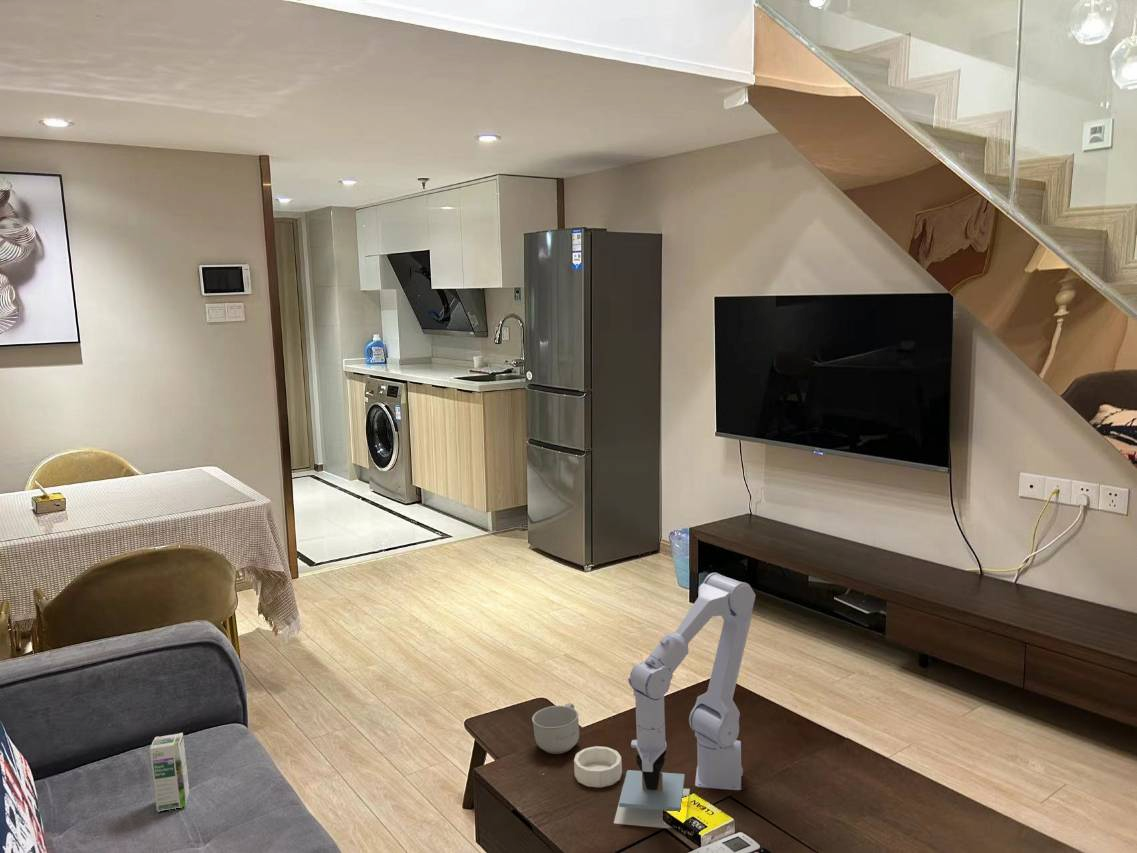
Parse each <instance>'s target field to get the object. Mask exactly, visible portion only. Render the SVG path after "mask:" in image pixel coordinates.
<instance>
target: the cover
mask: <svg viewBox="0 0 1137 853" xmlns="http://www.w3.org/2000/svg"><path fill="white" fill-rule="evenodd" d="M685 776H686V774H684V773H673V772H672V773H671V772H661V771H660V775H659V783H658V788H657V790H649V789H647V788H646V785H645V781H644V777H643V774H642V771H641V770H633V769H632V770H630V769H627V771H626V774H625V778H624V782H623V784H624V785H622V788H623V789H621V792H622V793H620V796H621V797H619V800H620V801H619V800H618V804H619V807H628V808H640V809H653V810H665V811H678V812H680V810H681V802H682V795H683V788H684V784H685Z"/></svg>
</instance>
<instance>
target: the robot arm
mask: <svg viewBox="0 0 1137 853" xmlns="http://www.w3.org/2000/svg"><path fill="white" fill-rule="evenodd" d="M697 593H698V597H697V598H696V600H695V601H694V603H693V605H691V607H690V609H689V611H688V612H687V614H686V615H685V617H684V619H683V620H682V621H681V622H680V624H679V625H678V628H677V629H676V630H675V631H674V632H673V633H672V632H671V633H666V634H665V635H664V636H663V637H662V638H661V639H660V640H659V643H658V644H657V645H656V646H655V648H654V649H653V651H652V652H651V653H650V654H649V656H648V657H647V658H646V659H645V660H644V661H642V662H640V663H637V664H636V665H634V667H633V668H632V669H631V671H630V676H629V677H628V678H627V682H628V685H629V686H630V688H632V690H633V691H632V692H633V696H634V699H635V721H636V722H635V724H636V739H632V740H631V743H630V747H631V748H633V749H636V750H637V753H638V754H636V760H635V762H636V765H637V766H638V768H639V769H640V771H642V774H643V777H644V781H645V785H646V788H647V789H649V790H657V788H658V783H659V775H660V772H661V770H662V768H663V766H664V764H665V761H666V758H665V756H666V754H667V750H668V748H667V741H666V718H665V716H666V715H665V695H666V694H667V693H668V692H669V690H670V686H671V680H672V679H673V677H674V672H675V671H677V668H678V667H680V665H681V664H682V662H683V661H684V659H685V658H686V657H687V656H688V654H689V643H690V642H691V641H692V640H693V639H694V638H695V637H696V635H697V634H698V633H699V632H700V631H701V630H702V629H703V628H704V627H705V625H706V624H708V622H709V621H710V620H711V619H712V618H713V617H721V618H722V620H723V624H722V628H721V631H720V635H719V636H720V637H719V640H718V645H717V649H716V653H715V657H714V661H713V666H712V670H711V674H710V679H709V683H708V687H707V690H706V692H704V693H703V694H701V695H698V696H697V697H696V701H695V705H694V706H693V708H692V710H691V711H690V714H689V717H688V724H689V726H690V728H691V730H692V731H694V737H695V738H696V746H697V748H696V749H697V750H696V751H697V766H696V772H695V773H696V774H695V781H694V782H695V783H694V787H696V788H705V789H706V788H707V789H719V790H732V791H740V790H742V777H743V775H744V771H743V770H744V768H743V766H742V741H741V740H737V739H738V736H739V733H740V723H739V722H740V716H741V713H740V710H739V709H738V706H737V705H736V703H735V701H734V700H733V699H734V694H735V691H736V690H735V689H736V687H737V686H736V684H737V682H738V677H739V674H740V668H741V665H742V660H743V656H744V653H745V652H744V651H745V647H746V643H747V640H748V636H749V630H750V626H751V621H752V616H753V615H752V614H753V613H752V612H753V608H754V604H755V600H756V593H755V592H754V590H753V588H752V587H751V584H749V583H747V582H743V581H739V580H736V579H734V578H730V577H727V576H725V575H722V574H720V573H718V572H711V573H709V574H708V575H707V576H706V577H705V578H704V580H703V582H702V583H701V584H700V585H699V586H698V592H697Z"/></svg>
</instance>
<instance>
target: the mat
mask: <svg viewBox="0 0 1137 853" xmlns="http://www.w3.org/2000/svg"><path fill="white" fill-rule="evenodd" d="M623 785H624V783H623ZM623 785H622V786H623ZM622 789H623V787H622ZM622 789H621V790H622ZM690 791H691V790H690V788H684V787H683V795H682V798H683V797H685V796H688V795H689V796H690ZM621 793H622V791H621ZM621 793H620V794H621ZM620 797H621V795H620ZM620 797H619V798H620ZM619 801H620V799H619V800H618V802H619ZM662 812H663V810H653V809H640V808H628V807H619V803H618V805H617V809H616V812H615V816H614V820H613V824H616V825H628V826H638V827H649V828H660V829H669V828H668V827H667V826H666V825H665V824H664V821H663V817H662V816H663V813H662Z"/></svg>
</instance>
